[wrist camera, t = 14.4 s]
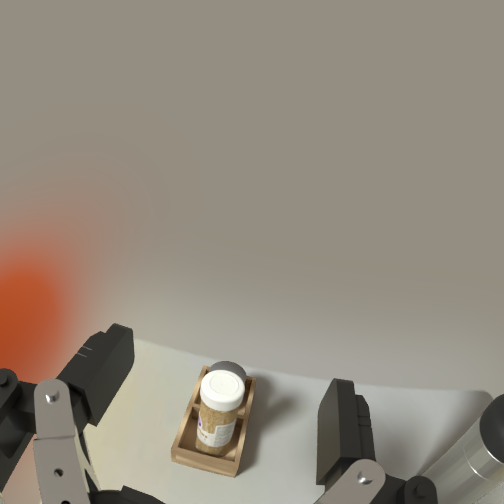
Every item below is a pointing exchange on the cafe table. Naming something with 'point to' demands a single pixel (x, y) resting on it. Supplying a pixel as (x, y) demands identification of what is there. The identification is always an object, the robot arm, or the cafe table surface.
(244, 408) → the caddy
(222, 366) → the honey jar
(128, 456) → the cafe table surface
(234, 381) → the sprinkles bottle
